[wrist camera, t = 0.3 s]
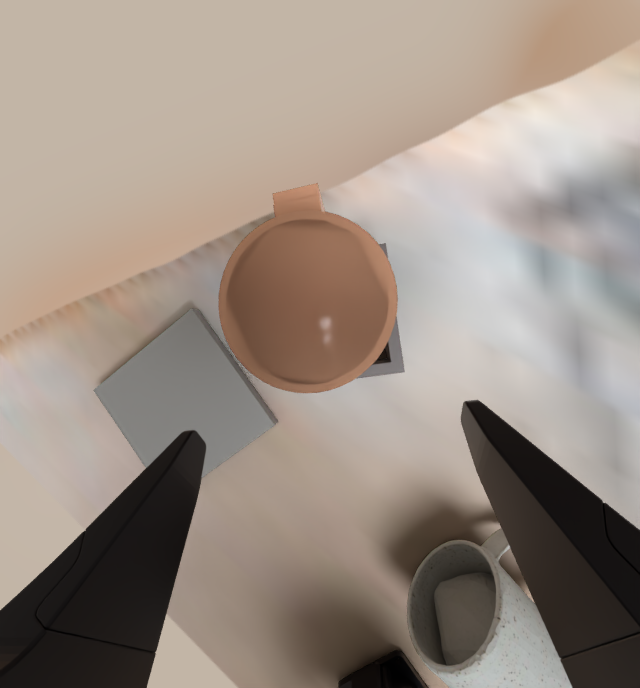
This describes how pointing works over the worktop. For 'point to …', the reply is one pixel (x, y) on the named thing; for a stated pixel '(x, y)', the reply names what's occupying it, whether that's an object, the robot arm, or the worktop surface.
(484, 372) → the worktop surface
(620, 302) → the worktop surface
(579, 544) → the robot arm
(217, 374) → the mat
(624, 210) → the worktop surface
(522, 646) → the ceramic mug
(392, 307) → the peach rounded cylinder
